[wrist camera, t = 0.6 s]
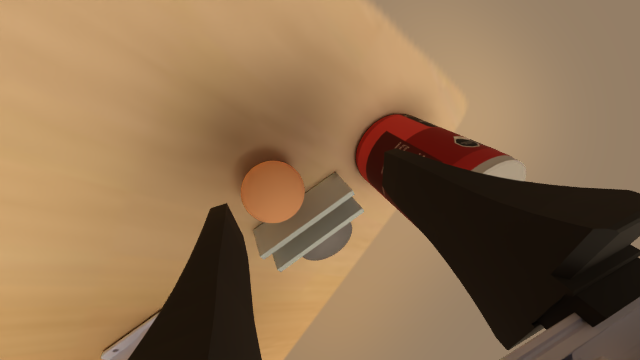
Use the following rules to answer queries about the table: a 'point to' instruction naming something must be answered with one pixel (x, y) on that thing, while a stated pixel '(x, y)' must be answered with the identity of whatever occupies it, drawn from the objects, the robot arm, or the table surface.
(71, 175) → the table surface
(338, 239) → the coaster
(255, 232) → the acrylic fence
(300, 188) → the ball
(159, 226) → the table surface
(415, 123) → the canned food
